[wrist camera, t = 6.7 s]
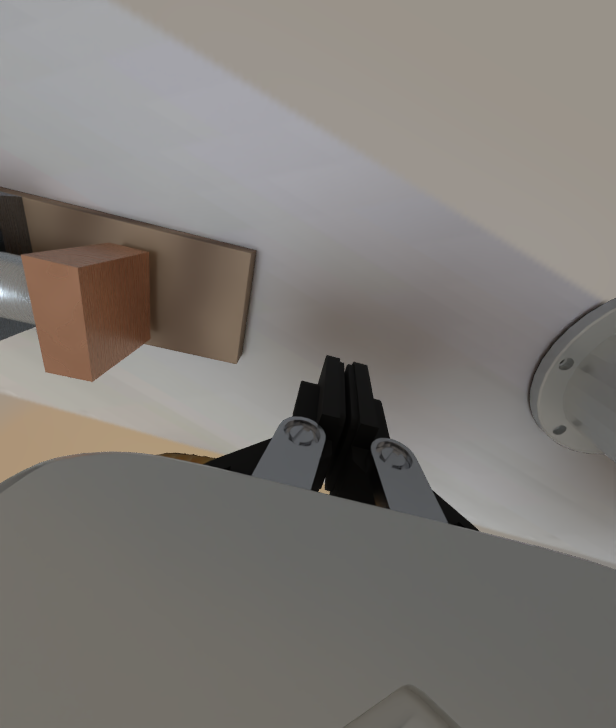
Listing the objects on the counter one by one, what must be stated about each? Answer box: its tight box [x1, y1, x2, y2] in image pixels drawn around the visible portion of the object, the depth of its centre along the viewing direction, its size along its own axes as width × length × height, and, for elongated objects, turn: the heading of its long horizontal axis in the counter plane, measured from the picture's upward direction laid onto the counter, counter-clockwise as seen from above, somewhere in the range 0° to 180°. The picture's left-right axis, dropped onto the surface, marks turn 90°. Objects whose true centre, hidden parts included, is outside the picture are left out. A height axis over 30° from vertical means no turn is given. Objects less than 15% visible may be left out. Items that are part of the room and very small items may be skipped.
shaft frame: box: [0, 187, 256, 364], centre depth 14 cm, size 18×7×8 cm, turn 77°
